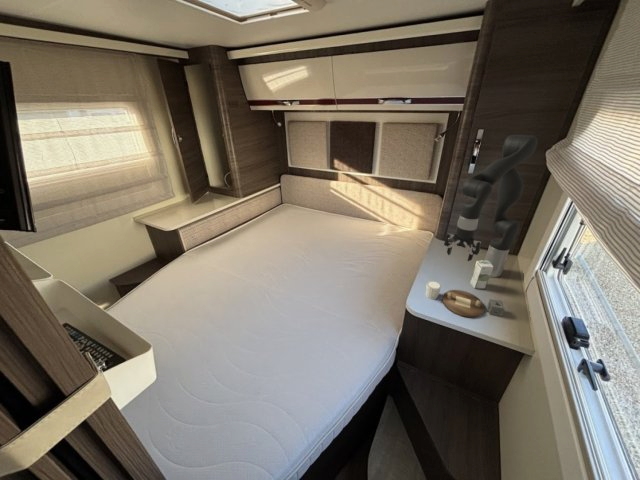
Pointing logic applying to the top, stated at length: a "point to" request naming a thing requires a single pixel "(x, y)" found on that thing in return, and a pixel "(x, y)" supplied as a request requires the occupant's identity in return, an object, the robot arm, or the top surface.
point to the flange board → (463, 303)
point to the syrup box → (481, 274)
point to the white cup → (432, 289)
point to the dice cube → (495, 308)
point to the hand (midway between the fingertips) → (458, 257)
